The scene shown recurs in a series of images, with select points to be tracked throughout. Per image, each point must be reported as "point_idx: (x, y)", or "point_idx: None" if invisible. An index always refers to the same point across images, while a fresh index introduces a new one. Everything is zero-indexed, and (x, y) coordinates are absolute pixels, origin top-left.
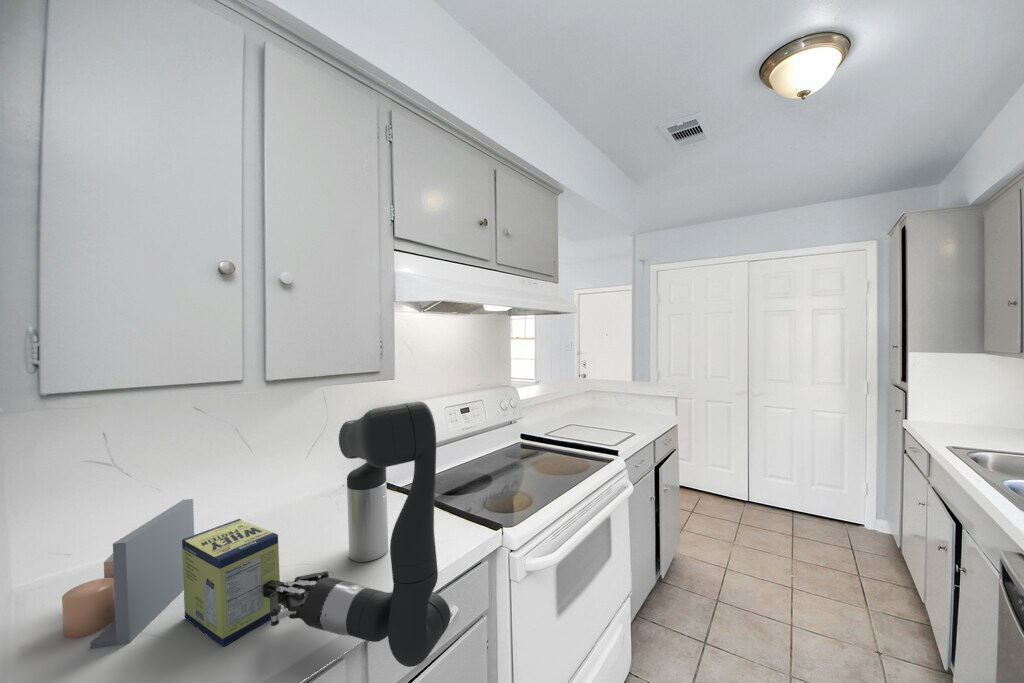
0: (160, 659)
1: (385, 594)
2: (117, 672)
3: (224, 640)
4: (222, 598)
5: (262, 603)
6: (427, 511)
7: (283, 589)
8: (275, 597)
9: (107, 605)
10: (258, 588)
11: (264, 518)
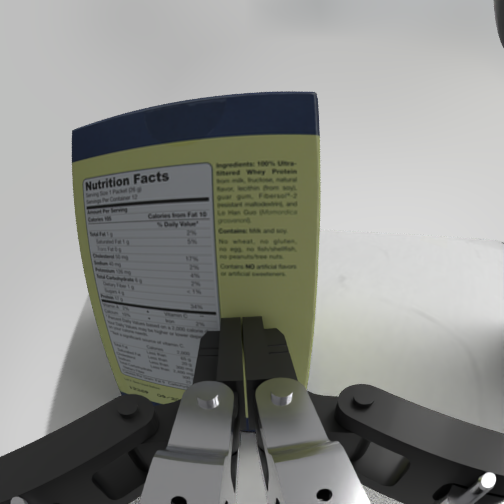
0: (100, 339)
1: None
2: (82, 317)
3: None
4: (86, 278)
5: None
6: None
7: (203, 429)
8: (97, 440)
9: None
10: (205, 321)
11: (392, 237)
